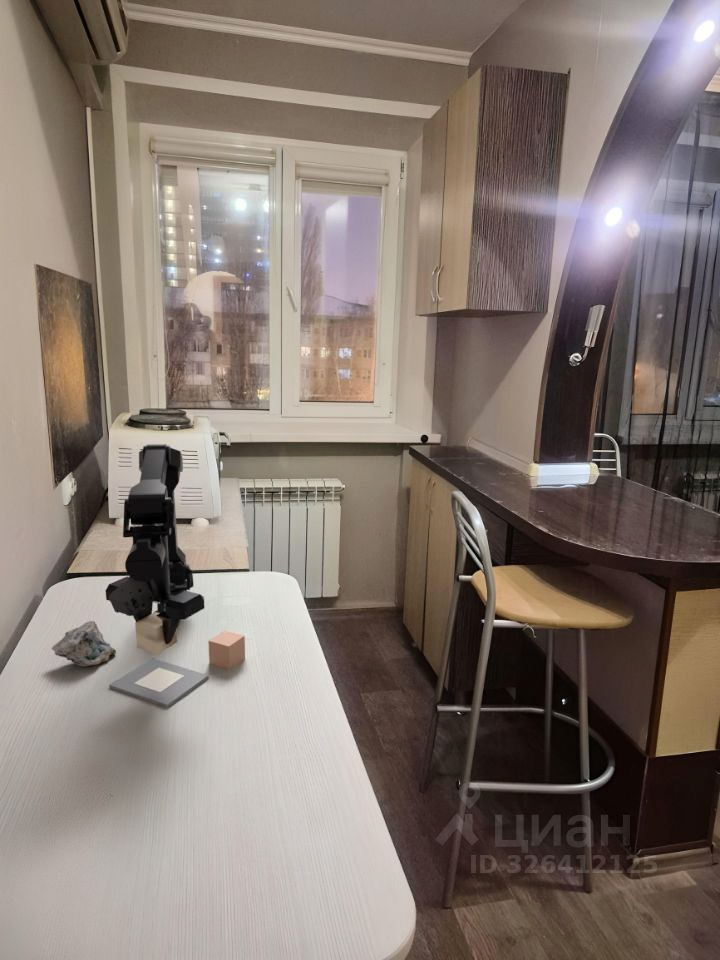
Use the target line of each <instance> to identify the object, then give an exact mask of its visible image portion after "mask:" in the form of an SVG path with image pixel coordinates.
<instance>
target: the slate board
mask: <svg viewBox="0 0 720 960" xmlns="http://www.w3.org/2000/svg"><path fill="white" fill-rule="evenodd" d="M208 679H209V674H205V673H202V672H199V671H195V670H192V669H188V668H185V667H182V666H180V665H177V664H173V663H170V662H166V661H163V660H160V659H157V658H153V657H152V658H151V659H149V660H148V661H147V660H146V662H145V663H142V664H141V665H139V666H138V667H135V668H134V669H132V670H131V671H129V672H128V673H126V674H124V675H122V676H121V677H119V678H118V679H116V680H115V681H113V682H111V683H109V684H108V687H109V689H112V690H115V691H118V692H120V693H124V694H127V695H130V696H133V697H135V698H139V699H141V700H144V701H147V702H149V703H152V704H155V705H158V706H161V707H164V708H166V709H168V708H170V707H171V706H172V705H174V704H175V703H176V702H178V701H179V700H181V698H184V697H185V696H186V695H187V694H189V693H190V692H192V691H193V690H194V689H195V688H197V687H198V686H200V685H201V684H202V683H204V682H205V681H207V680H208Z"/></svg>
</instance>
